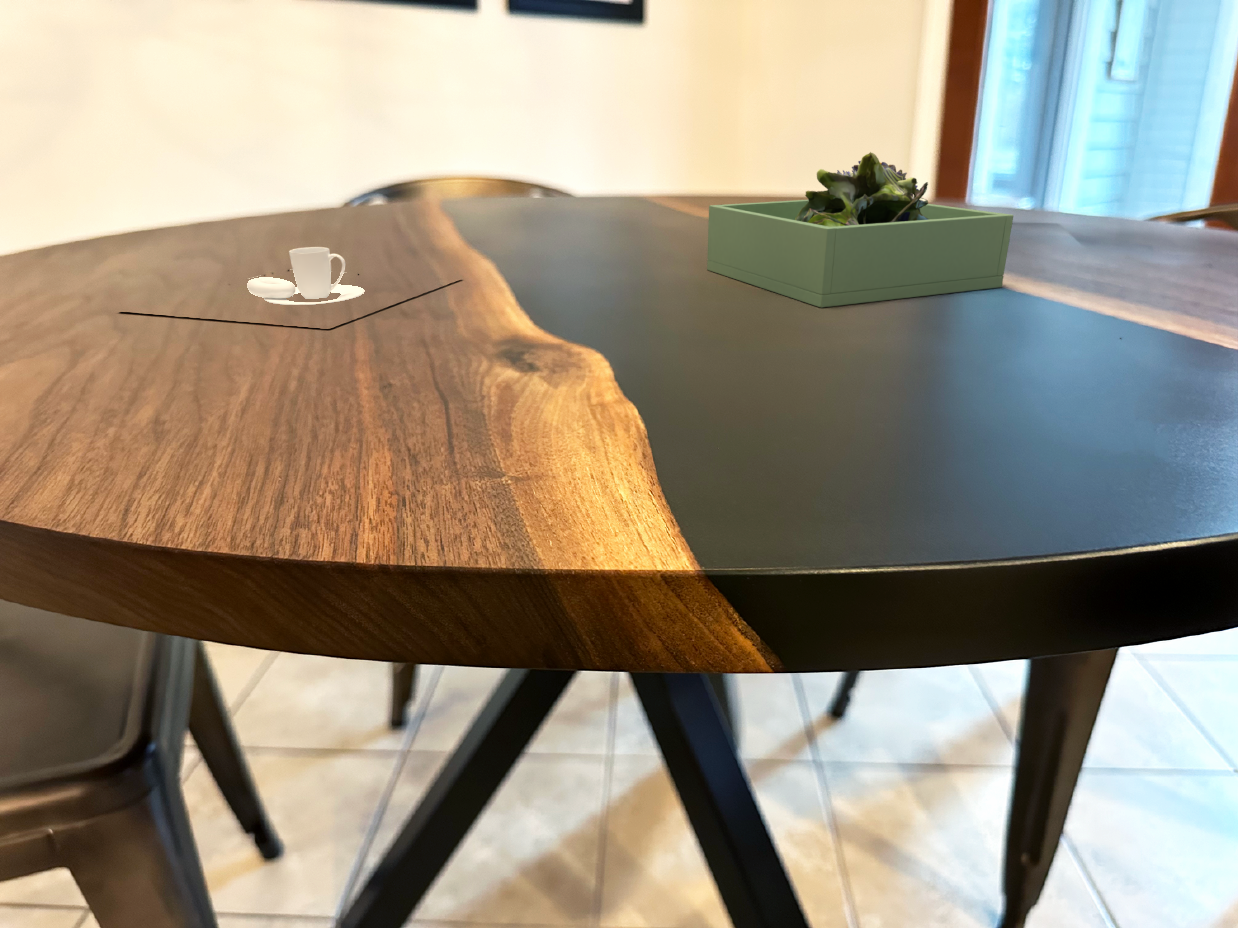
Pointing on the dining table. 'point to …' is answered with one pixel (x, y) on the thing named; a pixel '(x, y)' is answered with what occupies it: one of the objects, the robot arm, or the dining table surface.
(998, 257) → the green open box
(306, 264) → the teacup and saucer
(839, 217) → the green leafy lump
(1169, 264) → the dining table surface
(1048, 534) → the dining table surface
